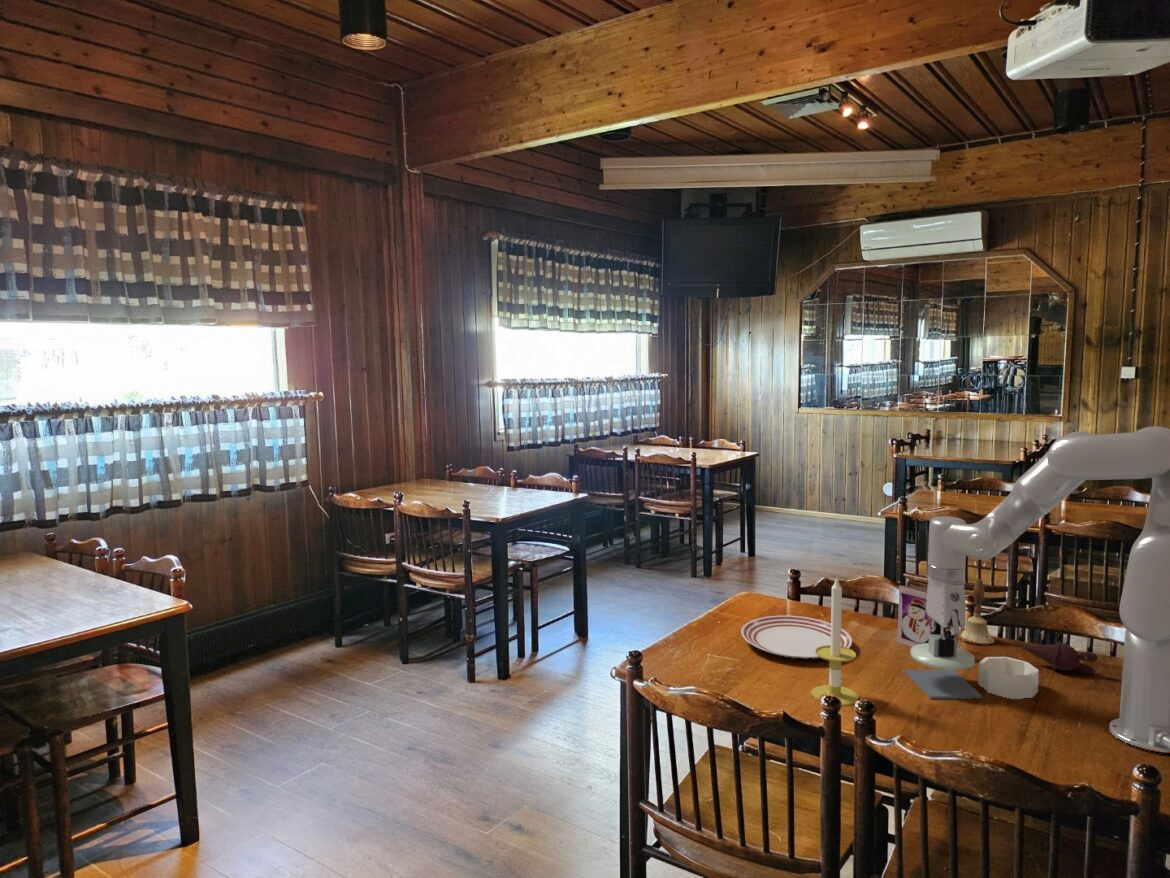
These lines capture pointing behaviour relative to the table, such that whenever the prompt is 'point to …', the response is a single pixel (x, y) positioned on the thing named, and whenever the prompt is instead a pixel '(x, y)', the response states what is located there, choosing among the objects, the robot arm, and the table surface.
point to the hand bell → (977, 619)
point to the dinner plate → (791, 635)
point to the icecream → (1063, 657)
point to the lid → (930, 657)
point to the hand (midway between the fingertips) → (942, 652)
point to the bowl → (1008, 677)
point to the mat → (943, 684)
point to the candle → (836, 654)
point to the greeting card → (913, 616)
